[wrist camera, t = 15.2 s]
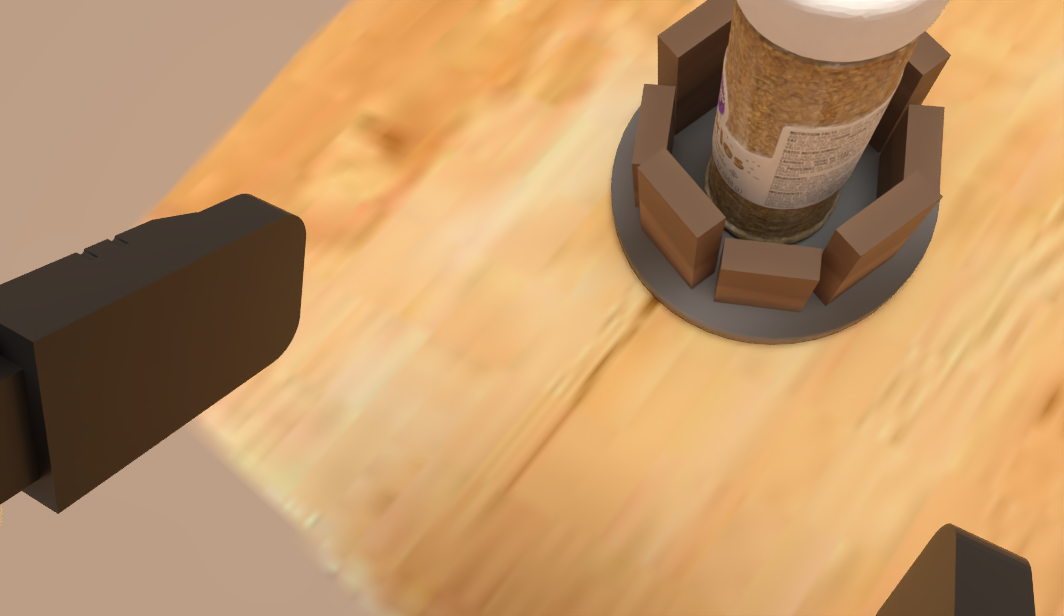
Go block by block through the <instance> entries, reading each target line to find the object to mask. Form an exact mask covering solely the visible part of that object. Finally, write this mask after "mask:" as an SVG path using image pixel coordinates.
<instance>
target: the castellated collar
mask: <svg viewBox="0 0 1064 616" xmlns="http://www.w3.org/2000/svg"><path fill="white" fill-rule="evenodd" d="M734 4H735V0H707V1H706V2H704V3H703V4H702V5H700V6H699V7H697V8H696V9H695V10H693V11H692V12H690V13H689V14H687V15H686V16H685V17H683V18H682V19H680V20H679V21H678V22H676V23H675V24H673V25H672V26H671V27H669V28H668V29H666V30H665V31H664V32H662V33H661V34H659V35H658V85H653V84H644V89H643V95H642V102H641V106H640V107H639V109H638V110H637V111H636V113H635V114H634V115H633V117H632V119H631V120H630V122H629V124H628V126H627V128H626V129H625V131H624V133H623V136H622V139H621V141H620V144H619V146H618V149H617V152H616V157H615V161H614V165H613V172H612V183H611V192H612V207H613V214H614V220H615V225H616V230H617V234H618V237H619V240H620V243H621V246H622V249H623V252H624V254H625V256H626V258H627V259H628V261H629V263H630V265H631V267H632V269H633V270H634V272H635V273H636V275H637V276H638V278H639V279H640V280H641V282H642V283H643V285H644V286H645V287H646V288H647V289H648V290H649V291H650V292H651V293H652V294H653V296H654V297H655V298H656V299H657V300H659V301H660V302H661V303H662V304H663V305H664V306H666V307H667V308H668V309H669V310H670V311H672V312H673V313H675V314H676V315H678V316H679V317H681V318H682V319H684V320H686V321H687V322H689V323H691V324H693V325H695V326H697V327H699V328H701V329H703V330H705V331H707V332H710V333H713V334H716V335H719V336H722V337H725V338H728V339H733V340H738V341H743V342H748V343H759V344H790V343H798V342H804V341H809V340H815V339H818V338H821V337H825V336H828V335H831V334H834V333H837V332H839V331H841V330H843V329H845V328H848V327H850V326H852V325H854V324H856V323H858V322H859V321H861V320H862V319H864V318H865V317H867V316H869V315H870V314H872V313H873V312H874V311H876V310H877V309H878V308H879V307H880V306H882V305H883V304H884V303H885V302H886V301H887V300H889V299H890V298H891V297H892V296H893V295H894V293H895V292H896V291H897V290H898V289H899V288H900V287H901V286H902V285H903V284H904V282H905V281H906V280H907V279H908V278H909V277H910V276H911V275H912V273H913V271H914V270H915V268H916V267H917V265H918V264H919V262H920V261H921V259H922V258H923V256H924V254H925V252H926V249H927V247H928V245H929V243H930V241H931V239H932V235H933V232H934V228H935V225H936V222H937V217H938V210H939V202H940V199H941V198H942V197H943V196H942V195H941V194H940V174H941V157H942V140H943V122H944V107H936V106H924V105H921V104H922V102H923V101H924V99H925V97H926V96H927V94H928V92H929V91H930V89H931V87H932V86H933V84H934V82H935V81H936V79H937V77H938V76H939V74H940V72H941V71H942V69H943V67H944V66H945V64H946V62H947V61H948V59H949V57H950V56H951V55H950V54H949V53H948V52H947V51H946V50H945V49H944V48H943V47H942V46H941V45H940V44H938V43H937V42H936V41H935V40H934V39H933V38H932V37H931V36H930V35H929V34H928V33H927V32H926V31H925V32H923V33H922V34H921V36H920V38H919V41H918V43H917V45H916V46H915V48H914V50H913V52H912V55H911V57H910V58H909V60H908V62H907V64H906V66H905V68H904V72H903V76H902V78H901V81H900V83H899V85H898V87H897V89H896V91H895V93H894V94H893V96H892V98H891V100H890V102H889V104H888V106H887V108H886V110H885V112H884V114H883V116H882V118H881V120H880V121H879V123H878V125H877V127H876V129H875V131H874V133H873V135H872V137H871V139H870V140H869V142H868V144H867V146H866V148H865V150H864V152H863V154H862V155H861V157H860V159H859V161H858V163H857V165H856V166H855V168H854V170H853V172H852V174H851V175H850V177H849V178H848V180H847V181H846V182H845V183H844V184H843V186H842V188H841V189H840V195H839V199H838V201H837V204H836V207H835V209H834V211H833V213H832V214H831V216H830V217H829V218H828V220H827V221H826V223H825V224H824V226H823V227H822V228H820V229H819V230H818V231H816V232H815V233H814V234H812V235H811V236H810V237H808V238H805V239H803V240H800V241H798V242H795V243H791V244H778V243H769V242H760V241H751V240H744V239H741V238H738V237H736V236H735V235H733V234H732V233H731V232H730V231H728V230H727V229H725V228H724V225H725V220H726V217H725V216H724V215H723V214H722V212H721V211H720V210H719V209H718V208H717V207H716V206H715V204H714V203H713V202H712V201H711V200H710V199H709V197H708V196H707V195H706V194H705V190H704V186H705V172H706V168H707V165H708V163H709V160H710V158H711V156H712V149H713V147H712V138H713V131H714V124H715V118H716V112H717V107H718V100H719V93H720V87H721V80H722V73H723V64H724V58H725V53H726V49H727V47H728V44H729V34H730V30H731V22H732V15H733V9H734Z"/></svg>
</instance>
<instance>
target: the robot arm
mask: <svg viewBox="0 0 1064 616" xmlns="http://www.w3.org/2000/svg"><path fill="white" fill-rule="evenodd" d="M305 244H306V230H305V226H304V223H303V221H302V220H301V219H300V218H299V217H298V216H295V215H293V214H291V213H289V212H287V211H285V210H283V209H280V208H278V207H276V206H274V205H272V204H270V203H268V202H265V201H263V200H261V199H259V198H257V197H255V196H253V195H250V194H240V195H237V196H234V197H232V198H230V199H228V200H225V201H223V202H221V203H219V204H216V205H214V206H212V207H210V208H207V209H205V210H203V211H201V212H198V213H197V212H196V213H190V214H184V215H178V216H172V217H167V218H161V219H155V220H151V221H149V222H146V223H144V224H142V225H139V226H137V227H135V228H132V229H130V230H128V231H125V232H123V233H121V234H118V235H116V236H115V238H114V240H113V241H110V240H108V239H107V240H104V241H102V242H99V243H97V244H95V245H92V246H90V247H88V248H85V249H84V252H83V253H82V254H81V255H80V254H78V253H74V254H71V255H69V256H67V257H64V258H62V259H60V260H57V261H55V262H53V263H50V264H48V265H45V266H43V267H41V268H38V269H36V270H34V271H32V272H29V273H27V274H24V275H22V276H20V277H17V278H15V279H13V280H10V281H8V282H6V283H3V284H1V285H0V525H1V521H2V509H1V504H2V503H3V502H5V501H6V500H8V499H10V498H11V497H13V496H14V495H16V494H17V493H19V492H20V491H23V492H25V493H26V494H28V495H29V496H31V497H32V498H34V499H36V500H37V501H39V502H40V503H42V504H43V505H45V506H46V507H48V508H50V509H51V510H53V511H54V512H56V513H57V514H59V513H60V512H62V511H63V510H64V509H66V508H67V507H69V506H70V505H71V504H73V503H74V502H76V501H77V500H79V499H80V498H81V497H82V496H84V495H86V494H87V493H88V492H90V491H91V490H93V489H94V488H95V487H97V486H98V485H100V484H101V483H103V482H104V481H105V480H107V479H108V478H110V477H111V476H112V475H114V474H115V473H117V472H118V471H120V470H121V469H123V468H124V467H125V466H127V465H128V464H130V463H131V462H132V461H134V460H135V459H137V458H138V457H140V456H141V455H142V454H144V453H145V452H147V451H148V450H149V449H151V448H152V447H153V446H155V445H157V444H158V443H159V442H160V441H162V440H164V439H165V438H167V437H168V436H169V435H170V434H172V433H173V432H175V431H176V430H178V429H179V428H181V427H182V426H184V425H185V424H186V423H188V422H189V421H191V420H192V419H193V418H195V417H196V416H198V415H199V414H201V413H202V412H203V411H205V410H206V409H208V408H209V407H210V406H212V405H213V404H215V403H216V402H218V401H219V400H220V399H222V398H223V397H225V396H226V395H228V394H229V393H230V392H232V391H233V390H235V389H236V388H237V387H239V386H240V385H242V384H243V383H245V382H246V381H247V380H249V379H250V378H252V377H253V376H254V375H256V374H257V373H259V372H260V371H262V370H263V369H264V368H266V367H267V366H269V365H270V364H272V363H273V362H274V361H275V360H277V359H278V358H279V357H280V356H281V355H282V354H283V352H284V351H285V350H286V349H287V347H288V346H289V344H290V343H291V341H292V339H293V337H294V335H295V333H296V330H297V327H298V324H299V319H300V309H301V296H302V283H303V270H304V257H305ZM876 616H1035V605H1034V594H1033V582H1032V572H1031V566H1030V564H1029V562H1028V561H1027V560H1026V559H1025V558H1023V557H1021V556H1019V555H1017V554H1014V553H1012V552H1010V551H1008V550H1006V549H1004V548H1002V547H999V546H997V545H995V544H993V543H991V542H989V541H987V540H984V539H982V538H980V537H978V536H976V535H974V534H972V533H969V532H967V531H965V530H963V529H961V528H959V527H957V526H955V525H952V524H946V525H944V526H943V527H941V528H940V529H939V530H938V531H937V532H936V534H935V535H934V536H933V537H932V539H931V540H930V541H929V543H928V544H927V545H926V547H925V548H924V550H923V551H922V552H921V554H920V555H919V556H918V558H917V559H916V560H915V562H914V563H913V565H912V566H911V567H910V569H909V570H908V571H907V573H906V574H905V576H904V577H903V578H902V580H901V581H900V582H899V584H898V585H897V586H896V588H895V589H894V591H893V592H892V593H891V595H890V596H889V597H888V599H887V600H886V601H885V603H884V604H883V606H882V607H881V608H880V610H879V611H878V613H877V614H876Z"/></svg>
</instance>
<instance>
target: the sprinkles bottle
mask: <svg viewBox="0 0 1064 616" xmlns="http://www.w3.org/2000/svg"><path fill="white" fill-rule="evenodd" d="M948 2H949V0H735V4H734V9H733V15H732V22H731V30H730V34H729V44H728V47H727V49H726V53H725V58H724V64H723V73H722V80H721V87H720V93H719V100H718V107H717V112H716V118H715V124H714V131H713V138H712V147H713V149H712V156H711V158H710V160H709V163H708V165H707V168H706V172H705V186H704V190H705V194H706V195H707V196H708V197H709V199H710V200H711V201H712V202H713V203H714V204H715V206H716V207H717V208H718V209H719V210H720V211H721V212H722V214H723V215H724V216H725V217H726V220H725V225H724V228H725V229H727V230H728V231H730V232H731V233H732V234H733V235H735V236H736V237H738V238H741V239H744V240H751V241H760V242H769V243H778V244H791V243H795V242H798V241H800V240H803V239H805V238H808V237H810V236H811V235H812V234H814V233H815V232H816V231H818V230H819V229H820V228H822V227H823V226H824V224H825V223H826V221H827V220H828V218H829V217H830V216H831V214H832V213H833V211H834V209H835V207H836V204H837V201H838V199H839V195H840V189H841V188H842V186H843V184H844V183H845V182H846V181H847V180H848V178H849V177H850V175H851V174H852V172H853V170H854V168H855V166H856V165H857V163H858V161H859V159H860V157H861V155H862V154H863V152H864V150H865V148H866V146H867V144H868V142H869V140H870V139H871V137H872V135H873V133H874V131H875V129H876V127H877V125H878V123H879V121H880V120H881V118H882V116H883V114H884V112H885V110H886V108H887V106H888V104H889V102H890V100H891V98H892V96H893V94H894V93H895V91H896V89H897V87H898V85H899V83H900V81H901V78H902V76H903V72H904V68H905V66H906V64H907V62H908V60H909V58H910V57H911V55H912V52H913V50H914V48H915V46H916V45H917V43H918V41H919V38H920V36H921V34H922V33H923V32H925V31H926V30H927V29H928V28H929V27H930V26H931V25H932V24H933V23H934V22H935V21H936V19H937V18H938V17H939V16H940V14H941V13H942V11H943V10H944V8H945V6H946V5H947V3H948Z"/></svg>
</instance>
